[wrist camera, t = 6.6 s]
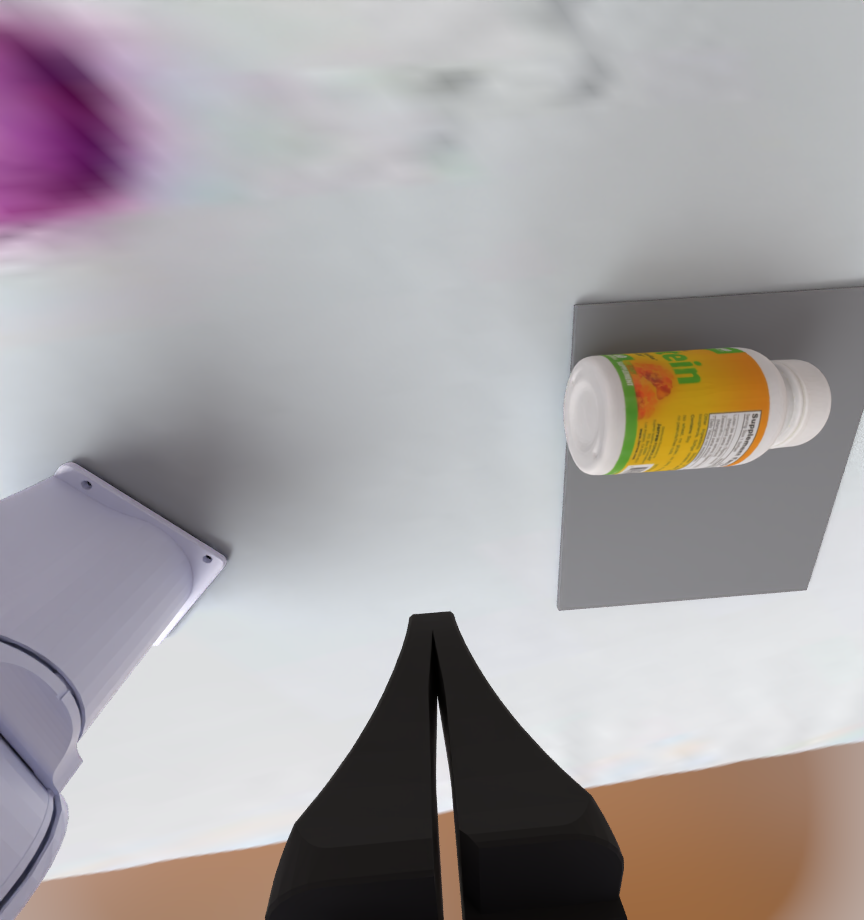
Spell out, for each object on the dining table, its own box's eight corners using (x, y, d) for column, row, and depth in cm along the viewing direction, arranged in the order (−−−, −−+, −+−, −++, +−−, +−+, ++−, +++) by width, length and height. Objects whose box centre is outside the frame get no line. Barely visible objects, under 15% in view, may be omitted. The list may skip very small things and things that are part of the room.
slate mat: (557, 606, 26) (559, 610, 26) (574, 305, 20) (577, 305, 19) (800, 586, 26) (806, 590, 26) (893, 284, 20) (902, 284, 20)
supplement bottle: (570, 338, 19) (772, 326, 19) (555, 435, 22) (728, 424, 22) (621, 388, 15) (881, 371, 15) (593, 501, 18) (808, 485, 18)
